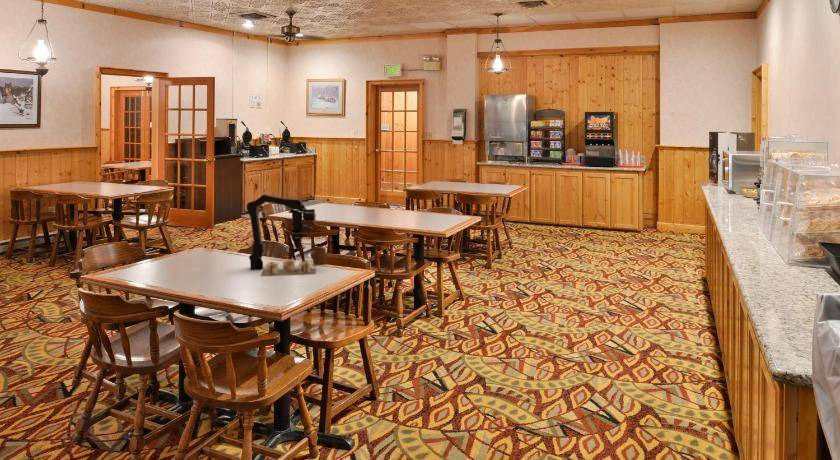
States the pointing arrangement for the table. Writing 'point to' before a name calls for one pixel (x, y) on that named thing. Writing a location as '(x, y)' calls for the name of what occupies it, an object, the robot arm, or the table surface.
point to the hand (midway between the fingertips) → (297, 247)
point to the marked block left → (271, 268)
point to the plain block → (288, 265)
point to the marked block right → (304, 267)
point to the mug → (319, 256)
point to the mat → (296, 272)
